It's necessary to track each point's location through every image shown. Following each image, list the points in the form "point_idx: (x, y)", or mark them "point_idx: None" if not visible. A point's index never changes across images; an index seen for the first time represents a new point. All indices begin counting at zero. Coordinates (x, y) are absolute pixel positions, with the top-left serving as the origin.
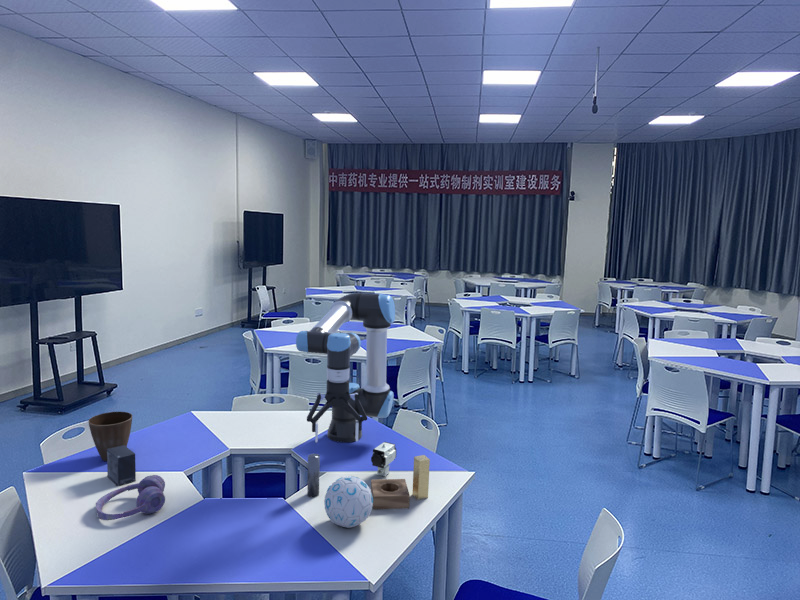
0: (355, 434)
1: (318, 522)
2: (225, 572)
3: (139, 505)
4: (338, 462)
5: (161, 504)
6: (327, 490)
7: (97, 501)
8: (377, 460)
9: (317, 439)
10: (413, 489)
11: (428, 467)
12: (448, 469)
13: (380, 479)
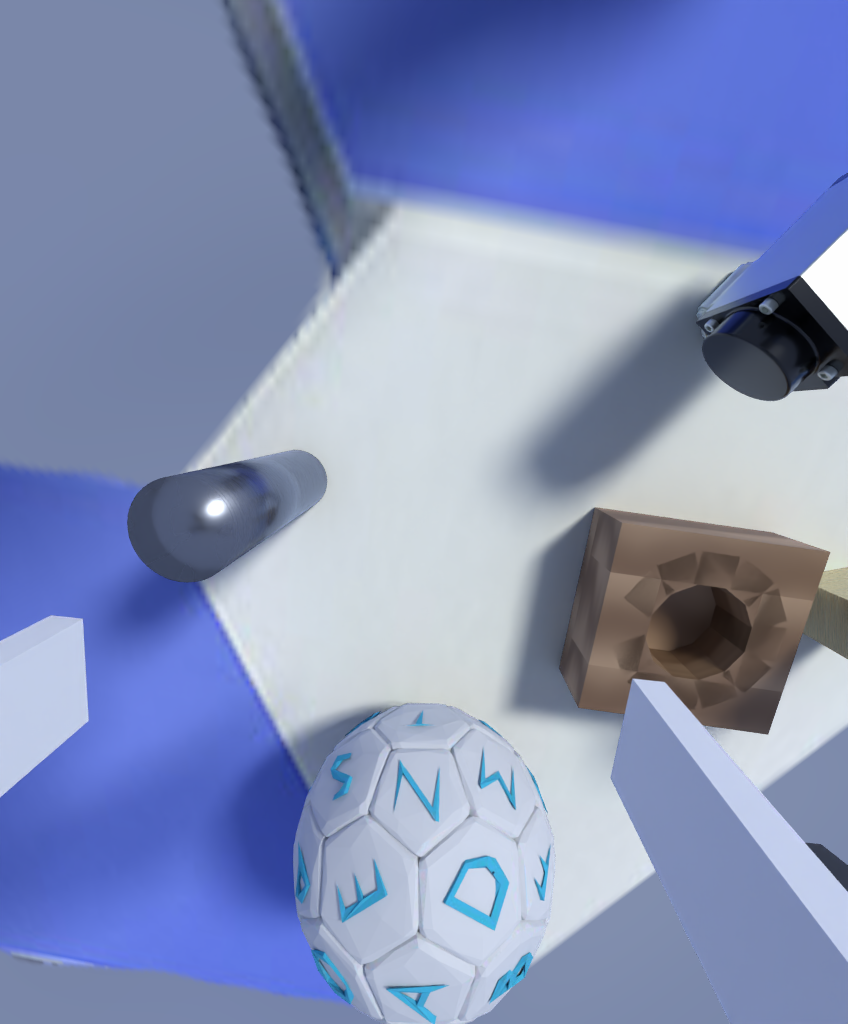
0: (661, 735)
1: (308, 717)
2: (8, 914)
3: None
4: (493, 58)
5: None
6: (300, 857)
7: None
8: (752, 378)
9: (51, 749)
10: (822, 598)
11: None
12: None
13: (679, 532)
